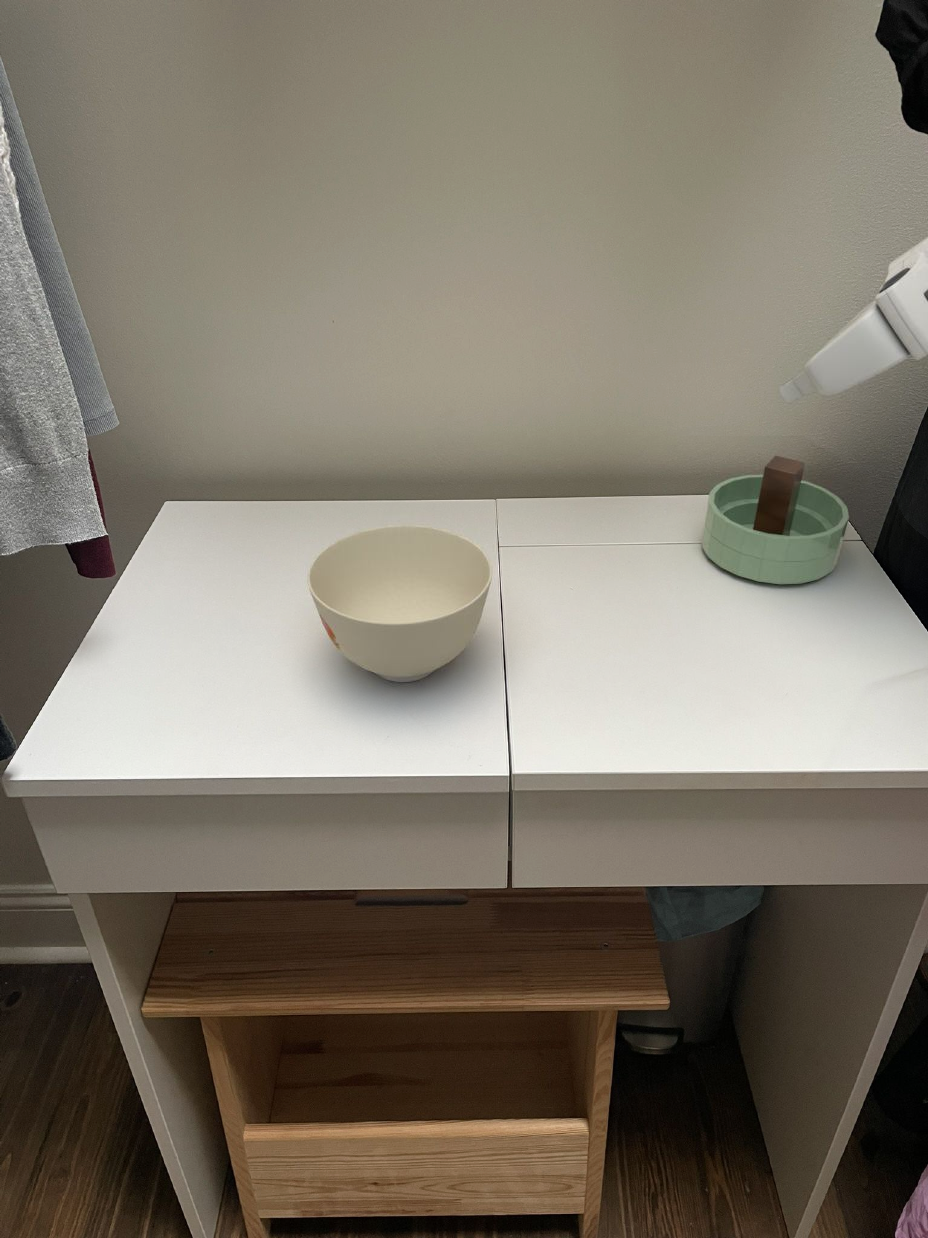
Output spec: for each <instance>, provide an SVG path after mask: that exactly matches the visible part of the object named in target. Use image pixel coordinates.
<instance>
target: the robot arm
mask: <svg viewBox="0 0 928 1238" xmlns="http://www.w3.org/2000/svg"><path fill="white" fill-rule="evenodd" d="M927 356H928V236H927V237H925V238H924V239H922V240H921V241H919V242H918V243H917V244H915V245H914V246H912V247H911V248H909V249H907V251H905V252H904V253H902V254H901V255H899V256H898V257H897V258H894V260H892V261H890V263H889V265H888V267H887V275H886V278H885V280H884V283H883V284H882V285H881V286H880V287H879V290H878V293H877V294H876V295H875V297H874V300H873V301H872V302H870V303H869V304H868V305H866V306H864V307H863V308H862V309H861V310H860V311H859V312H858V313H857V314H856V315H855V316H854V317H853V318H852V319H850V321H849V322H848V323H846V324H845V326H844V327H842V328H841V329H840V330H839V331H838V332H837V333H836V334H835V335H834V336H833V337H832V338H831V339H830V340H829V341H828V342H827V343H825V344H824V346H822V347H821V348H820V349H819V350H818V351H817V352H816V353H815V354H813V356H812V357H810V358H809V359H808V361H806V363H804V365H803V371H801V372H800V373H799V374H797V375H795V376H794V377H792V378H791V379H789V380H787V381H786V382H785V383H783V385H781V386H780V388H779V389H778V393H779V395H780V397H781V398H782V400H783V401H784V403H786V404H788V405H790V404H793V403H794V402H796V401H798V400H799V399H800V398H801V399H802V398H803V397H805V396H807V395H809V394H812V393H815V392H818V394H819V395H820V396H821V397H823V398H830V397H833V396H837V395H839V394H842V393H844V392H846V391H848V390H850V389H852V388H854V387H856V386H858V385H860V384H862V383H864V382H866V381H868V380H871V378H875V377H876V376H877V375H880V374H882V373H883V372H885V371H888V370H889V369H891V368H893V367H895V366H897V365H898V364H900V363H902V362H904V361H906V360H907V359H909V358H910V357H912V358H913V360H915V361H919V360H921V359H923V358H925V357H927Z"/></svg>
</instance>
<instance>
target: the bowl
mask: <svg viewBox="0 0 928 1238" xmlns="http://www.w3.org/2000/svg"><path fill="white" fill-rule="evenodd" d="M307 571H308V572H307V576H306V577H307V580H306V581H307V586H308V589H309V592H310V596H311V598H312V601H313V603H314V605H315V608H316V610H317V612H318V615H319V617H320V621H321V623H322V625H323V628H324V629H325V632H326V633H327V635H328V637H329V639H330V640H331V642H332V644H333V645H334V646H335V647H336V648H337V650H338V651H339V652H340V653H341V654H342V655H343V656H344V657H346V658H347V659H348V660H349V661H351V662H352V663H353V664H355V665H357V666H358V667H361V668H362V669H364V670H366V671H369V672H372V673H374V674H376V675H377V676H379V677H381V679H384V680H386V681H390V682H395V683H410V682H415V681H419V680H422V679H424V678H427V677H428V676H430V675H431V674H433V672H434V671H435V670H437V669H440V668H442V667H443V666H445V665H447V664H448V663H449V662H451V661H452V660H454V659H455V658H456V657H458V656H459V655H460V654H461V653H462V651H464V649H466V647H467V646H468V644H470V642H471V641H472V639H473V637H474V635H475V633H476V632H477V629H478V627H479V624H480V621H481V618H482V615H483V612H484V608H485V605H486V601H487V598H488V595H489V590H490V587H491V583H492V579H493V567H492V563H491V561H490V559H489V557H488V555H487V554H486V552H485V551H484V550H483V549H482V548H481V547H480V546H479V545H477V544H476V543H475V542H474V541H472V540H470V539H468V538H467V537H464V536H462V535H460V534H457V533H455V532H453V531H449V530H445V529H441V528H437V527H432V526H424V525H411V524H410V525H407V524H405V525H403V524H402V525H387V526H380V527H374V528H369V529H365V530H361V531H357V532H355V533H351V534H348V535H347V536H344V537H342V538H340V539H338V540H336V541H334V542H332V543H331V544H329V545H327V546H326V547H325V548H324V549H322V550H321V551H320V552H319V553H318V554H317V555H316V557H314V558H313V561H312V562H311V563H310V566H309V568H308V570H307Z"/></svg>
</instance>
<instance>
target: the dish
mask: <svg viewBox="0 0 928 1238" xmlns="http://www.w3.org/2000/svg"><path fill="white" fill-rule="evenodd" d="M762 479H763V474H747V475H746V474H745V475H741V476H735V477H730V478H728V479H726V480H723V481H721V482H719V483H718V484H716V485H715V486H714V487H713V488H712V489H711V490H710V492H708V500H707V505H706V512H705V518H704V524H703V529H702V535H701V548H702V549H703V551H704V553H705V555H706V556H707V558H708V559H710V560H711V561H712V562H714V564H716V566H718V567H719V568H721V569H723V570H726V571H727V572H730V573H731V574H734V575H736V576H738V577H741V578H744V579H748V580H752V581H755V582H758V583H767V584H776V585H795V584H796V585H799V584H805V583H808V582H813V581H817V580H821V579H822V578H824V577H825V576H827V575H828V574H830V573H832V572H833V570H834V568H835V567H836V565H837V564H838V561H839V558H840V553H841V550H842V546H843V542H844V538H845V535H846V532H847V527H848V523H849V519H850V516H849V510H848V507H847V505H846V504H845V503H844V501H843V500H842V499H841V498H840V497H839V496H837V495H836V494H834V493H833V492H832V491H830V490H828V489H827V488H824V487H822V486H820V485H817V484H814V483H812V482H810V481H806V480H803V479H802V480H801V485H800V489H799V494H798V498H797V503H796V507H795V512H794V517H793V521H792V526H791V530H790V535H789V536H784V535H776V534H767V533H764V532H760V531H756V530H753V526H754V521H755V516H756V511H757V505H758V500H759V495H760V490H761V485H762Z"/></svg>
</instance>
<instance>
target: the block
mask: <svg viewBox="0 0 928 1238" xmlns="http://www.w3.org/2000/svg"><path fill="white" fill-rule="evenodd" d="M805 466H806V462H804V461H799V460H796V459H793V458H788V457H784V456H778V455H775V456H773V457H772V458H771V460H769V462H768V463H767V464H765V466H764V469H763V474H762V475H763V479H762V485H761V490H760V495H759V500H758V505H757V511H756V516H755V521H754V526H753V530H756V531H760V532H764V533H767V534H776V535H784V536H789V535H790V530H791V526H792V521H793V517H794V512H795V507H796V503H797V498H798V494H799V489H800V485H801V480H803V475H804V471H805Z"/></svg>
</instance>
